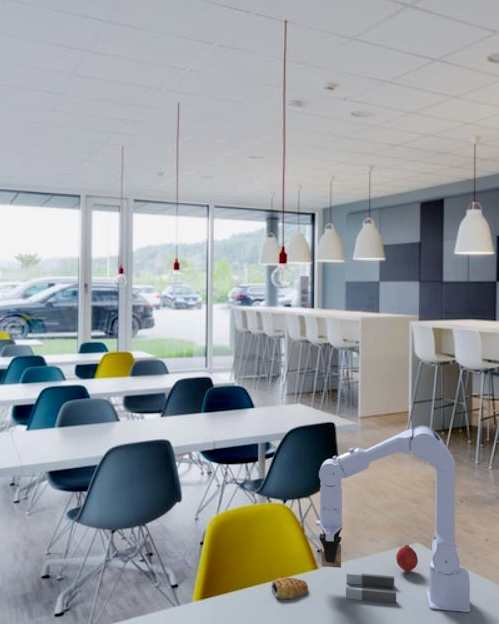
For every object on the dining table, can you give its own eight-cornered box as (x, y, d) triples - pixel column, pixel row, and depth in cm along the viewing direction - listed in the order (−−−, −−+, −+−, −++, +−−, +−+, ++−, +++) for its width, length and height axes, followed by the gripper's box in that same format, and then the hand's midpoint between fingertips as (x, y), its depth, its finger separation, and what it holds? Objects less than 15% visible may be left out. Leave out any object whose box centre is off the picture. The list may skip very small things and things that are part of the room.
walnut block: (341, 558, 155) (341, 544, 155) (341, 567, 150) (341, 552, 150) (322, 557, 156) (322, 543, 156) (321, 566, 151) (321, 551, 151)
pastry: (302, 584, 156) (302, 570, 156) (312, 596, 149) (312, 582, 149) (269, 589, 153) (269, 575, 153) (278, 602, 147) (278, 588, 146)
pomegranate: (395, 566, 165) (395, 538, 165) (415, 567, 165) (416, 540, 164) (397, 576, 160) (397, 547, 160) (419, 577, 159) (419, 548, 159)
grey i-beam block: (394, 585, 155) (394, 576, 155) (396, 603, 146) (396, 593, 146) (346, 581, 157) (346, 572, 157) (345, 598, 148) (345, 588, 148)
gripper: (317, 495, 160) (317, 544, 161) (313, 515, 146) (313, 568, 147) (343, 497, 159) (343, 546, 160) (341, 517, 145) (341, 570, 145)
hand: (331, 557), depth 153 cm, fingers closed on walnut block, 5 cm apart
